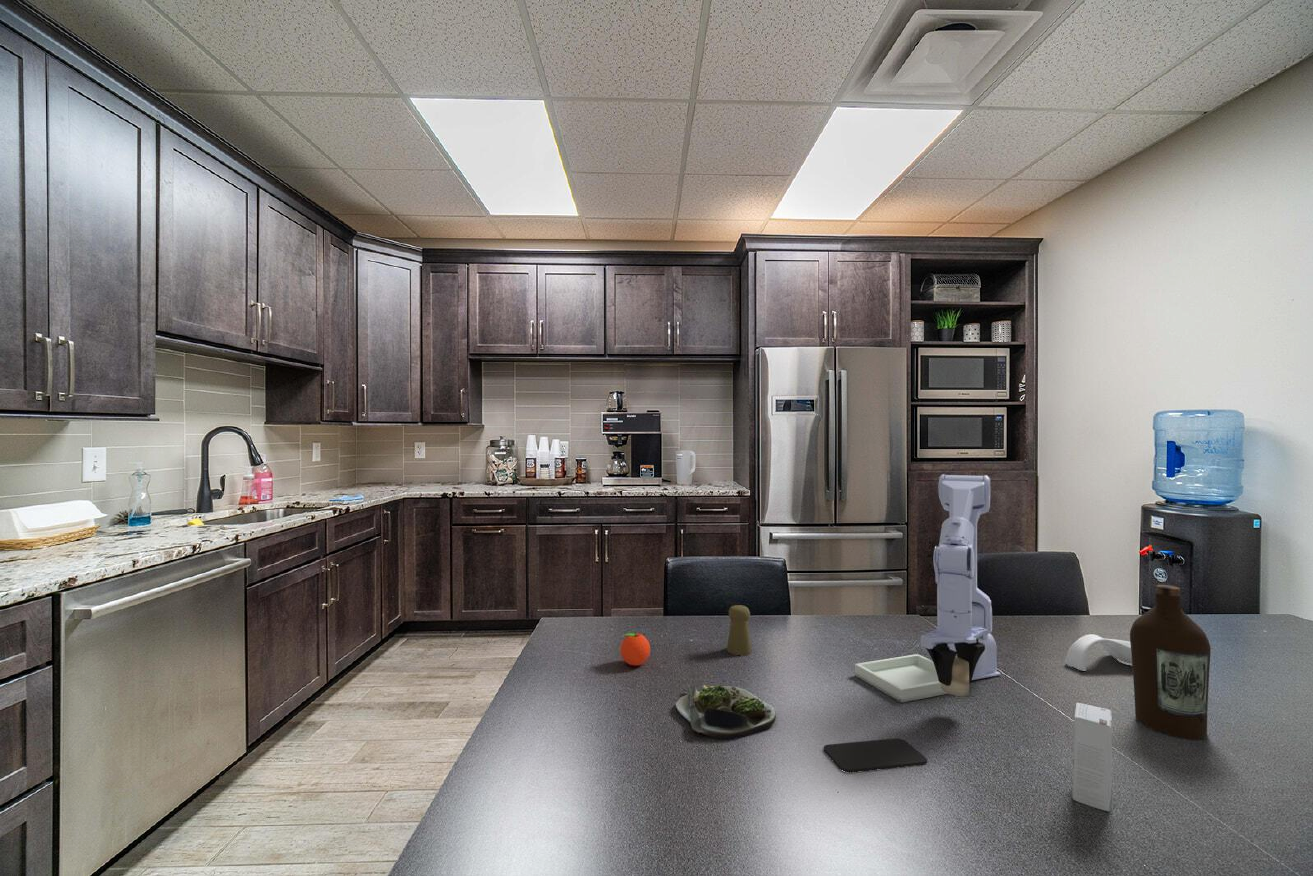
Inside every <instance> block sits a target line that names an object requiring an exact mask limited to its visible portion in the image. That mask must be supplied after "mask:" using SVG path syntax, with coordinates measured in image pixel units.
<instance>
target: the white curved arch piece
mask: <svg viewBox="0 0 1313 876" xmlns="http://www.w3.org/2000/svg"><path fill="white" fill-rule="evenodd" d="M1097 644H1100V645H1102V647H1103V648H1104V649H1105V650H1106V651H1107V652H1108V654H1109V655H1110V656H1111V657H1112V658H1114V659H1115V658H1116V659H1119V660H1121V661H1124V662H1127V663H1131V664H1132V655H1131V643H1130V640H1122V639H1113V638H1112V639H1111V638H1103V637H1101V636H1100V635H1097V634H1092V633H1091V634H1090V633H1089V634H1085V635H1083V636H1081V637H1080V638H1078V639H1077V640H1076V641H1074V642H1073V644H1072V645H1071V646H1070V647H1069V649H1068V650H1067V653H1066V656H1065V659H1064V664H1065V663H1066V664H1069V665H1071V666H1073V667H1075V668H1079V669H1081V670H1083V671H1086V672H1087V655H1088V652H1089V651H1090V650H1091V648H1092V647H1094V646H1095V645H1097ZM1116 659H1115V660H1116ZM1066 664H1065V665H1066Z"/></svg>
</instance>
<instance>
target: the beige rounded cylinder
mask: <svg viewBox="0 0 1313 876" xmlns="http://www.w3.org/2000/svg"><path fill="white" fill-rule="evenodd" d="M941 689H942V690H943V691H944V692H946V693H948V694H947V695H952V696H957V697H967V696H969V695H970V682H969V662H968V661H966V660H964V659H962V658H958V657H955V659H954V663H953V667H952V681H951V685H950V686H946V685H944V684H942V683H941Z"/></svg>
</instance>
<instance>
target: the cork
mask: <svg viewBox="0 0 1313 876" xmlns="http://www.w3.org/2000/svg"><path fill="white" fill-rule="evenodd" d="M728 617H729V619H730V624H729V630H728V631H729V633H728V639H727V640H728V641H727V648H726V652H727V651H728V652H729V653H731V654H730V655H732V654H733V655H732V656H736V655H746V656H749V654H750V655H751V654H752V653H753V651H752V645H751V636H750V635H751V634H750V630H749V622H748V620H750V617H751V611H750V610H749V608H748V607H747V606H746V605H742V604H737V605H736V604H735V605H732V606H730V608H729V609H728ZM728 652H727V653H728ZM751 652H752V653H751ZM729 653H728V654H729Z"/></svg>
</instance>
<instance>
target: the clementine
mask: <svg viewBox="0 0 1313 876" xmlns="http://www.w3.org/2000/svg"><path fill="white" fill-rule="evenodd" d="M624 636H626V637H624ZM622 637H624V639H623V640H622V641H621V644H620V655H621V659H622V660H623V661H624V662H625V663H626V664H627V665H629V666H635V667H636V666H641V665H643V664H644V663H645V662H646V661H647V660H648V659H649V656H650V654H651V647H650V646H651V645H650V642H649V640H648V638H646V637H645V636H644V635H643V634H641V633H633V632H629V633H626V634H623V635H622V636H620V638H619V639H621V638H622Z"/></svg>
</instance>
